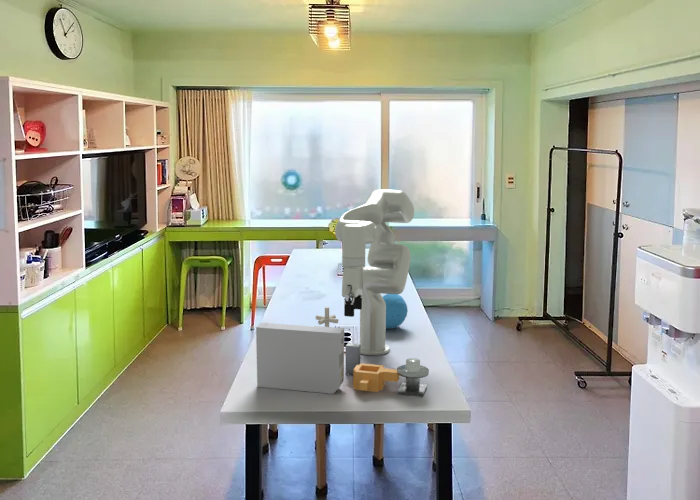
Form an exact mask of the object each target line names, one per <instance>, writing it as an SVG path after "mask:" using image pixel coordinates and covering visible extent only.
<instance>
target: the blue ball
mask: <svg viewBox="0 0 700 500" xmlns="http://www.w3.org/2000/svg"><path fill="white" fill-rule="evenodd" d="M382 297H383V299H384V301H385V303H386V329H387V330H388V329H394V328H398V327H399V326H400V325H402V324H403V323H404V321H406V318H407V316H408V313H409V312H408V304H407V302H406V301H405V300H404V298H403V296H402V295H400V294H384V295H383V296H382Z"/></svg>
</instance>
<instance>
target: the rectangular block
mask: <svg viewBox="0 0 700 500" xmlns="http://www.w3.org/2000/svg"><path fill="white" fill-rule="evenodd" d="M360 353H361V344H360V343H351V342H347V344H345V366H344V375H348V374H349V375H351V376H353V369H354V368H355V367H356V365H360V364H361V354H360Z"/></svg>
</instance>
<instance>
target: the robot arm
mask: <svg viewBox="0 0 700 500" xmlns="http://www.w3.org/2000/svg"><path fill="white" fill-rule="evenodd" d="M414 216H415V208H414V204H413V202H412V200H411V199H410V197H409V195H407V193H406V192H405V191H403V190H398V189H375V190H373V191H372V192H371V193H370V194H369V195H368V197H367V198H366V200H365V201H364V203H363V205H360V206H357V207H355V208H352V209H349V210H347V211H346V212H344V213H343V214H342V215H341V217H340V218H339V219H338V221H337V223H336V224H335V225H336V226H335V230H334V232H335V233H334V234H335V237H336V239H337V241H339V242H341V243H342V244H341V246H342V251H341V252H342V254H341V255H342V256H341V257H342V258H341V260H342V261H341V262H342V263H341V266H342V267H343V271H342V283H341V296H342V297H343V298H344V301H343V302H344V303H343V304H344V305H343V306H344V311H343V312H344V313H343V315H344V317H351V318H352V317H354V316H355V310H359V344H361V353H360V355H366V356H381V355H385V354H388V353H389V352H390V349H391V348H390V346H389V345H388V344H386V336H387V335H386V332H387V330H386V303H385V301H384V299H383V296H382V295H381V294H383V295H387V294H398V295H400V294H402V293H403V292H404V291H405V288H406V285H407V280H408V276H409V275H408V274H409V270H410V265H411V258H412V257H411V251H410V248H409V247H408V246H407V245H405V244H398V243H397V244H396V243H395V239H396V235H395V233H394V232H393V230H392V229H391V228H390V226H388V224H387V223H391V224H392V223H396V224H409V223H411V222H412V221H413V220H414ZM367 244H369V245H370V246H369V250H368V254H367V264H368V265H369V266H366V245H367Z"/></svg>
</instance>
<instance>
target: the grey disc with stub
mask: <svg viewBox="0 0 700 500" xmlns="http://www.w3.org/2000/svg"><path fill="white" fill-rule="evenodd" d="M396 369H397V374H398V375H399V377H401V378H404V379H405V382H404V381H403V382H401V384H400V386H399V388H398V390H397V395H401V396H411V397H420V398H423V397H424V396H425V393H426V391H427V388H428V384H425V383H420V382H421V379H423V378H426V377H427V376H428V375H429V374H430V369H429V368H428V367H427V366H425V365H421V360H420V359H418V358H416V357H415V358H414V357H411V358H407V359H406V360H405V364H402V365H399V366H398V367H397V368H396ZM428 377H429V376H428Z"/></svg>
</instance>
